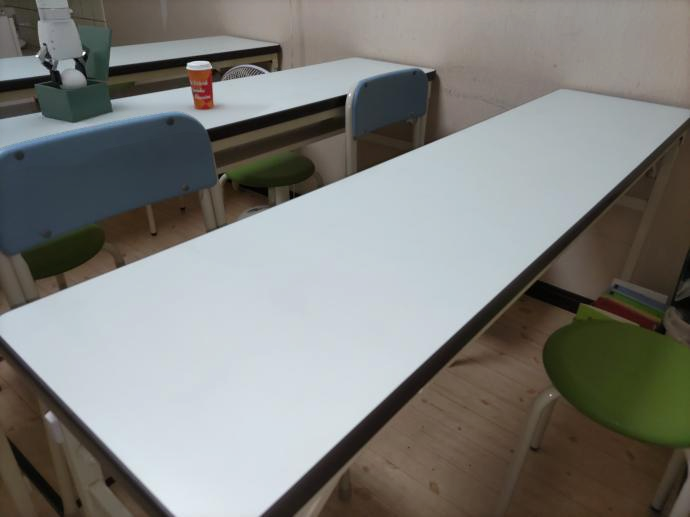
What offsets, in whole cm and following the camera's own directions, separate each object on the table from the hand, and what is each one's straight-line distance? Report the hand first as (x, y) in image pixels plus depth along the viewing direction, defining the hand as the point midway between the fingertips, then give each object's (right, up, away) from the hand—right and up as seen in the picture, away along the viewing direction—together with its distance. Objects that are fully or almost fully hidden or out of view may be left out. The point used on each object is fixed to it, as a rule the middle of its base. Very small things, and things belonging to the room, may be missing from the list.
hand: (70, 81), depth 147 cm
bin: (0, -8, +5) cm, 9 cm away
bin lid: (+4, +10, +3) cm, 11 cm away
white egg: (-1, -3, +2) cm, 4 cm away
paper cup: (+35, -4, +14) cm, 38 cm away
